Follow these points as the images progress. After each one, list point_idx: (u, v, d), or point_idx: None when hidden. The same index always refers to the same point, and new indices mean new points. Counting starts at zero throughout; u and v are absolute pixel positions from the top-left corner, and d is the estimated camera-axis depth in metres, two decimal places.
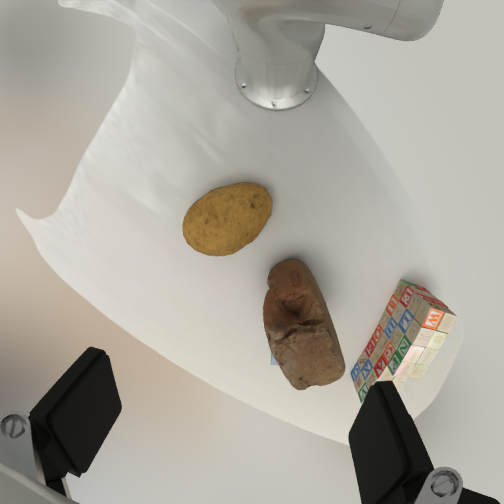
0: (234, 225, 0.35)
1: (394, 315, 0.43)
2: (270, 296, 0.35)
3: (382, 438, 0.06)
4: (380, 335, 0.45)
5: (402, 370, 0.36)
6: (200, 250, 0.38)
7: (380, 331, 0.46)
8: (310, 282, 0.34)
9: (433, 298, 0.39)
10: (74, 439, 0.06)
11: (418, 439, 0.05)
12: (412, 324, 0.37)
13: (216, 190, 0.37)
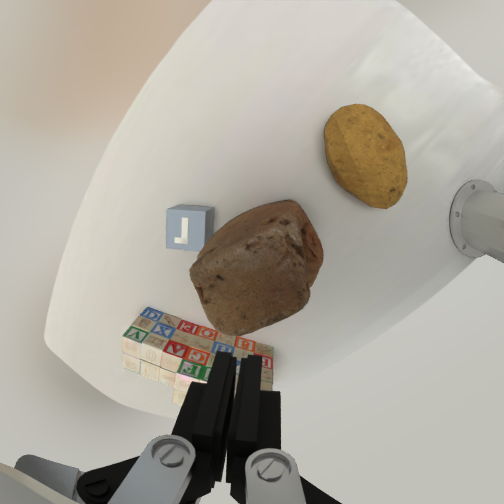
0: (377, 168, 0.27)
1: (237, 350, 0.40)
2: None
3: None
4: (207, 337, 0.41)
5: (185, 382, 0.32)
6: (340, 122, 0.27)
7: (211, 336, 0.42)
8: None
9: None
10: (223, 448, 0.07)
11: (256, 412, 0.07)
12: None
13: None
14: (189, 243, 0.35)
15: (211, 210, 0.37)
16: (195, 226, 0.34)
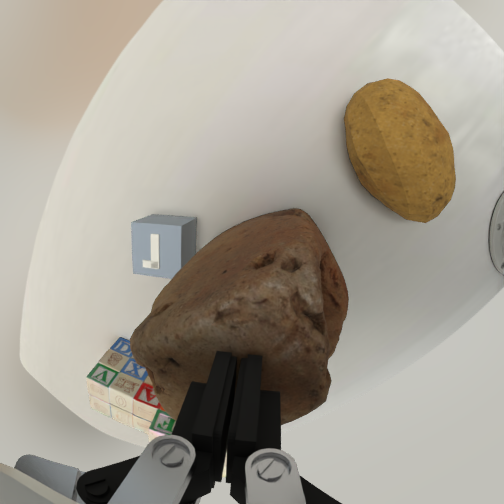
0: (423, 168, 0.17)
1: None
2: (318, 233, 0.17)
3: None
4: None
5: None
6: (369, 101, 0.18)
7: None
8: None
9: None
10: (223, 448, 0.07)
11: (256, 412, 0.07)
12: None
13: None
14: (162, 268, 0.25)
15: (192, 222, 0.27)
16: (168, 245, 0.25)
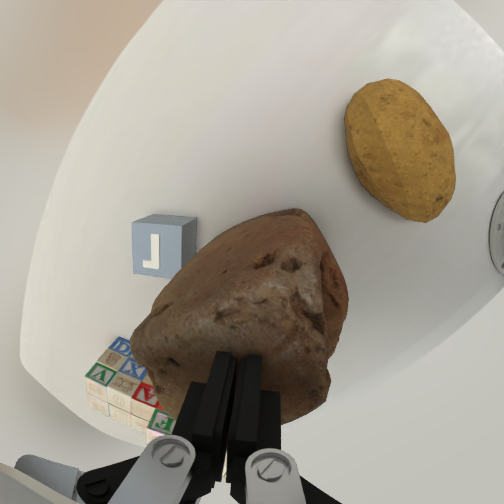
0: (423, 168, 0.17)
1: None
2: (318, 233, 0.17)
3: None
4: None
5: None
6: (369, 101, 0.18)
7: None
8: None
9: None
10: (223, 448, 0.07)
11: (256, 413, 0.07)
12: None
13: None
14: (162, 268, 0.25)
15: (192, 222, 0.27)
16: (168, 245, 0.25)
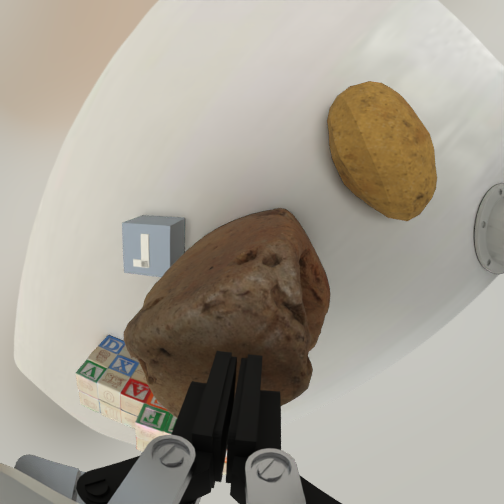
0: (403, 167, 0.19)
1: None
2: (299, 231, 0.18)
3: None
4: None
5: (147, 432, 0.23)
6: (350, 103, 0.19)
7: None
8: None
9: None
10: (223, 448, 0.07)
11: (256, 412, 0.07)
12: None
13: None
14: (151, 267, 0.26)
15: (180, 223, 0.28)
16: (157, 245, 0.25)
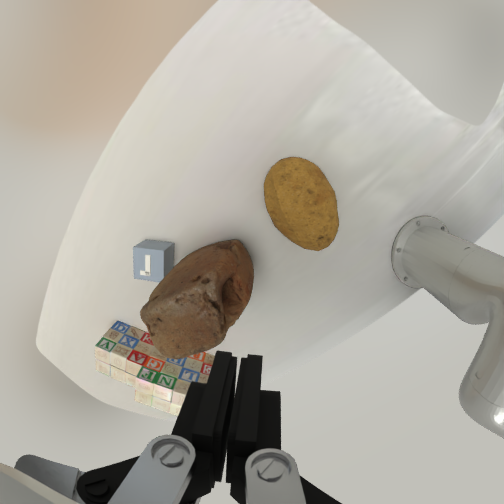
0: (304, 221, 0.34)
1: (188, 360, 0.46)
2: (232, 262, 0.33)
3: None
4: None
5: (143, 385, 0.38)
6: (274, 178, 0.34)
7: None
8: None
9: None
10: (223, 448, 0.07)
11: (256, 412, 0.07)
12: (189, 384, 0.40)
13: None
14: (152, 275, 0.41)
15: (170, 246, 0.43)
16: (155, 262, 0.40)
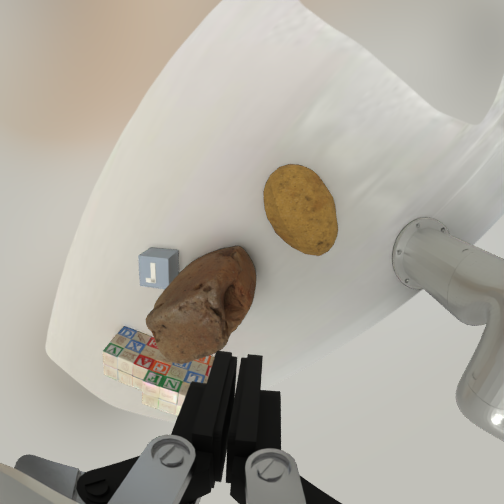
0: (303, 227, 0.34)
1: (194, 363, 0.47)
2: (234, 269, 0.34)
3: None
4: None
5: (149, 388, 0.40)
6: (273, 186, 0.35)
7: None
8: None
9: None
10: (223, 448, 0.07)
11: (256, 412, 0.07)
12: None
13: (334, 205, 0.36)
14: (157, 282, 0.42)
15: (175, 254, 0.44)
16: (160, 269, 0.42)
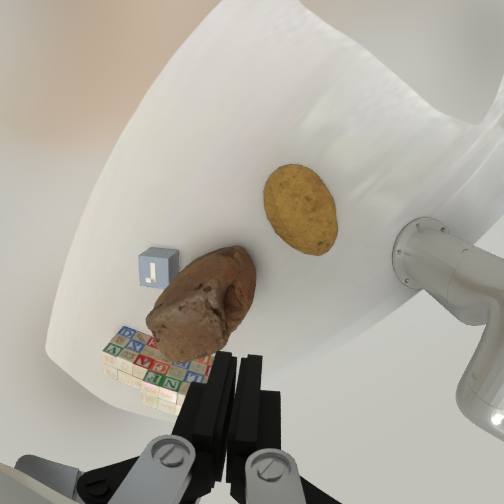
0: (303, 227, 0.34)
1: (193, 363, 0.47)
2: (234, 269, 0.34)
3: None
4: None
5: (149, 388, 0.40)
6: (273, 186, 0.35)
7: None
8: None
9: None
10: (223, 448, 0.07)
11: (256, 412, 0.07)
12: None
13: (334, 205, 0.36)
14: (157, 282, 0.42)
15: (175, 254, 0.44)
16: (160, 269, 0.42)
